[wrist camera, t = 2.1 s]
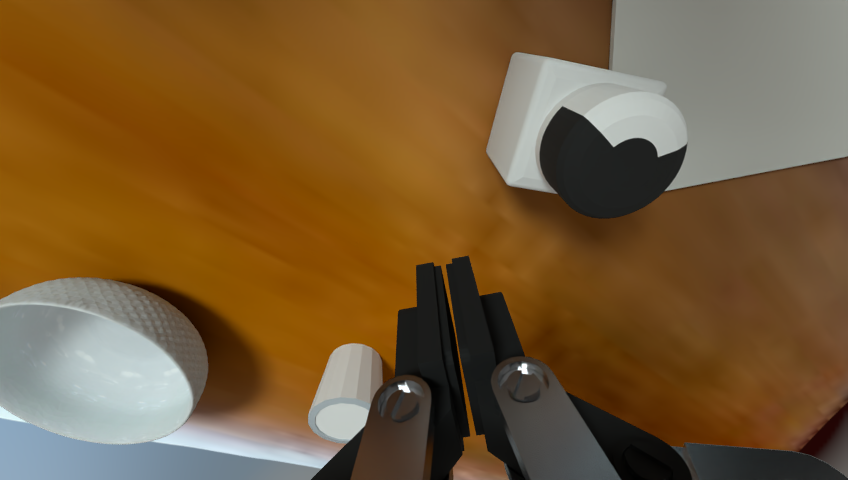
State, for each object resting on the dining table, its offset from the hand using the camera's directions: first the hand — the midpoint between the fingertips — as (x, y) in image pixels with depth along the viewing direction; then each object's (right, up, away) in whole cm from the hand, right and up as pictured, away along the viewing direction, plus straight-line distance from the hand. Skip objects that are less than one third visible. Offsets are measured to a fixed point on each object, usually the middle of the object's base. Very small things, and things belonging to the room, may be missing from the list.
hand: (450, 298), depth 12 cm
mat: (+22, +14, +14) cm, 30 cm away
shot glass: (-8, -11, +27) cm, 31 cm away
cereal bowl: (-29, -6, +24) cm, 38 cm away
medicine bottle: (+8, +11, +15) cm, 21 cm away
